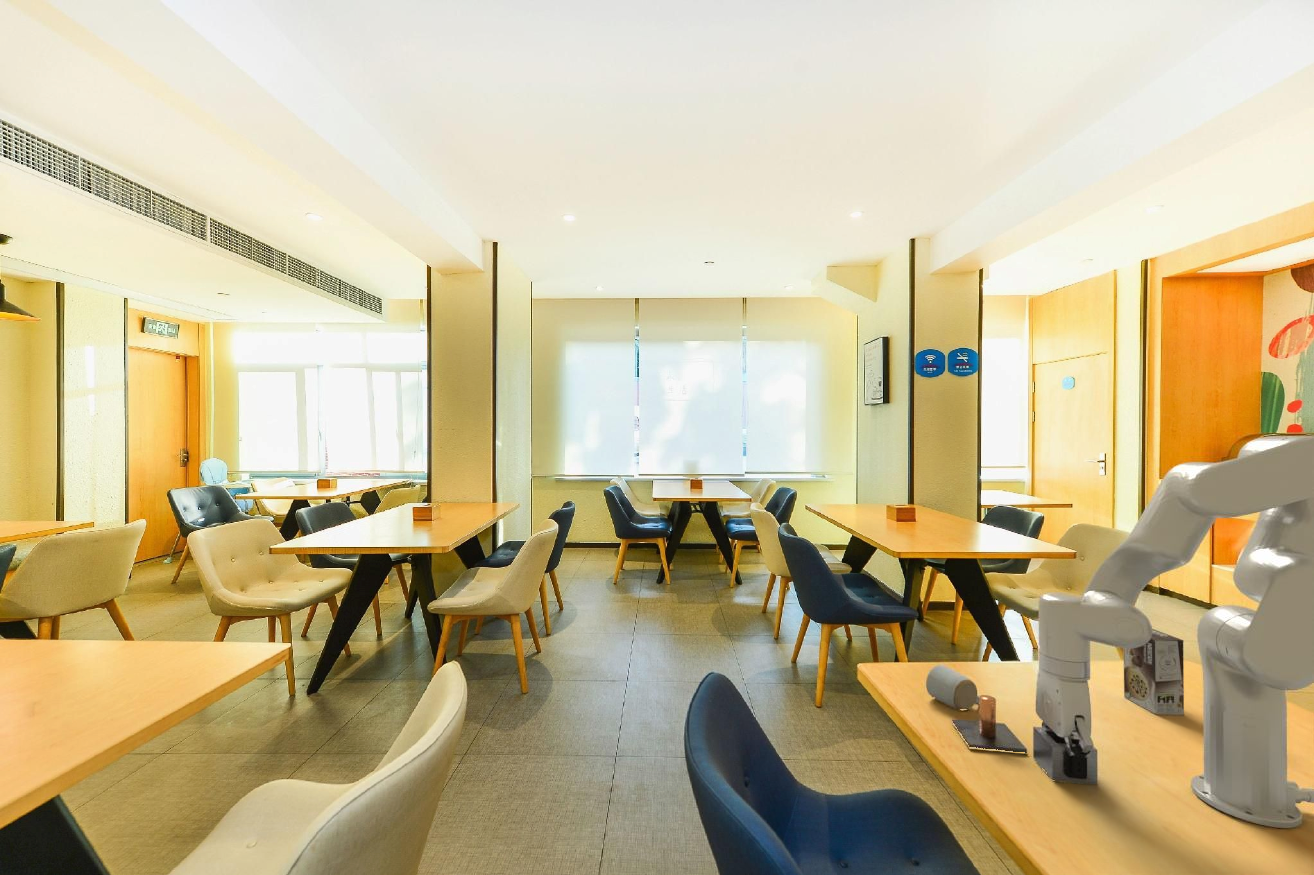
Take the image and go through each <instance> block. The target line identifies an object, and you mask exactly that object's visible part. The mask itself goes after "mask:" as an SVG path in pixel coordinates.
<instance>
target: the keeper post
mask: <svg viewBox="0 0 1314 875" xmlns="http://www.w3.org/2000/svg"><path fill="white" fill-rule="evenodd" d="M978 696H979V703H978V705H979V712H978V714H979V721H977V720H975V721H974V720H965V719H951V722H952V721H953V723H954V724H955V726H956V727H957V729H958V731H959V732H960V733H961V734H962V736H963V738H964V739H965V741H966V742H967V743H968V745H969V747H976V748H977V747H978V748H983V749H984V748H985V749H996V750H997V749H998V750H1005V751H1013V752H1025V753H1027V754H1028V749H1027V748H1026V746H1025V745H1024V744H1023V743H1022V741H1021V740H1019V738H1018V737H1017V736H1016V735H1015V734H1014V732H1012V730H1011V729H1010V728H1009V727H1008V725H1006V723H1001V722H996V721H997V719H996V718H997V717H996V716H997V713H996V712H997V706H996V705H997V704H996V703H997V700H996V698H995V697H993V696H991V695H988V694H987V695H986V694H980V695H978Z"/></svg>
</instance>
